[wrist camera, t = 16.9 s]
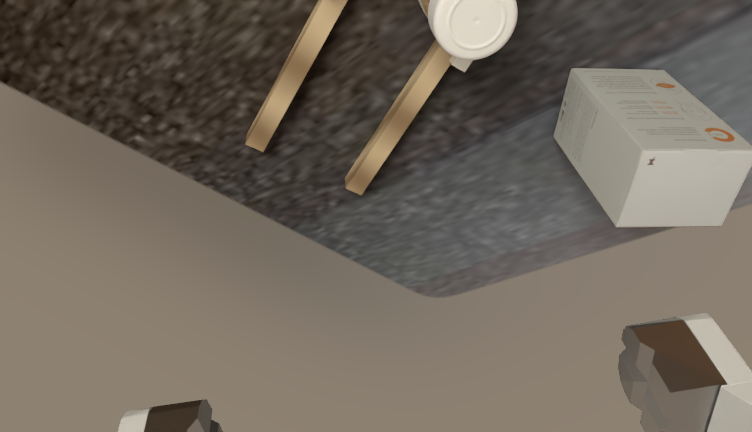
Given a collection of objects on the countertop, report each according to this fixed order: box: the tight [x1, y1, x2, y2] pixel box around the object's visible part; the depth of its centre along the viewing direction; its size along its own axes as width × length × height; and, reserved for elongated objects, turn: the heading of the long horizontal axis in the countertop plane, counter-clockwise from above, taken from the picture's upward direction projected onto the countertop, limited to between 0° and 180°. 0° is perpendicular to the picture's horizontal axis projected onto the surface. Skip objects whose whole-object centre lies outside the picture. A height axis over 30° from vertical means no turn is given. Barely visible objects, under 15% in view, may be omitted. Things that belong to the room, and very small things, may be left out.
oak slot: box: [246, 0, 452, 195], centre depth 48 cm, size 14×10×2 cm
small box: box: [553, 68, 752, 228], centre depth 46 cm, size 8×6×13 cm
